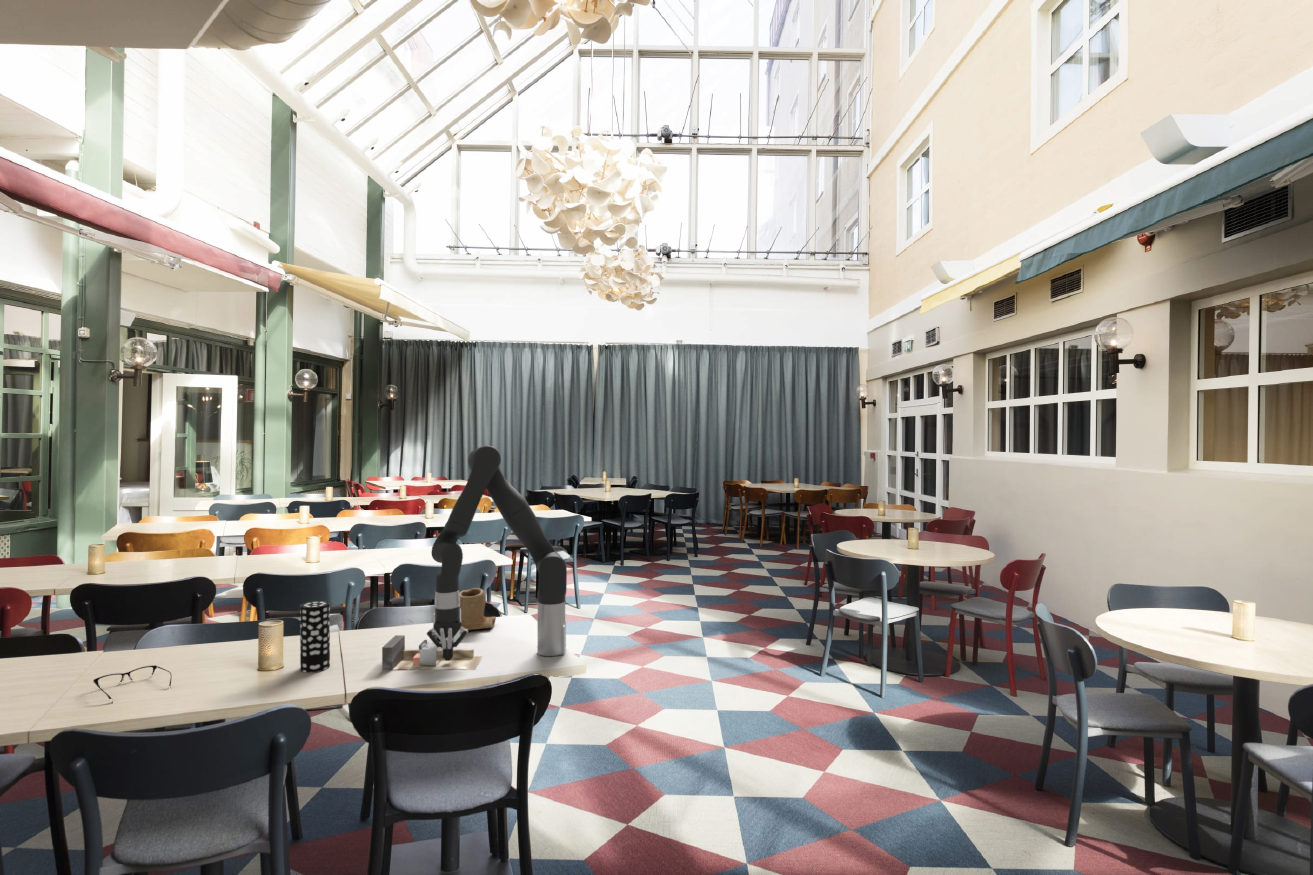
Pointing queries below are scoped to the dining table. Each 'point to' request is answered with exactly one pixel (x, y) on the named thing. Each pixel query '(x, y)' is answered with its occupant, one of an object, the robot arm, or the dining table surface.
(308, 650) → the white-spotted black cylinder
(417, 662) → the pink eraser
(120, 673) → the eyeglasses
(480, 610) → the tan piece
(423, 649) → the carriage
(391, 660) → the beige long open tray
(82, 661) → the dining table surface
